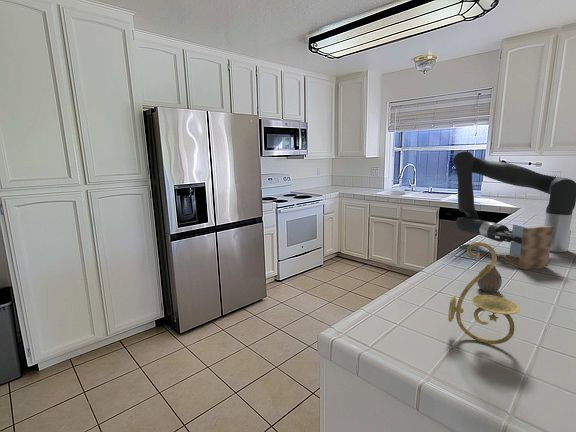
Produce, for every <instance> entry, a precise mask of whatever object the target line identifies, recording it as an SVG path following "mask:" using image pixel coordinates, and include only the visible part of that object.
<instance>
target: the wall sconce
mask: <svg viewBox="0 0 576 432" xmlns="http://www.w3.org/2000/svg"><path fill="white" fill-rule="evenodd" d="M474 247H475V248H476V247H484V248H485V249H487V250H488V251H489V253H491V261H490V263H489V264H488V265H489V266H488V267H487V268H486V269H485V270H484V271H482V272H481V273H480V274H479V273H478V274H479V275H476V276H475V277H474V278H473V279H472V280H471V281H470V282H469V283H467V285H466V286H465V288H463V290H462V292H461V293H460V295H459V298H458V301H457V299H456V298H457V297H456V295H454V294H453V295H451V298H450V302H449V307H448V316H447V317H448V318H447V319H448V322H449V323H450V322H453V320H454V318H455V317H456V322H457V325H458V326H459V328H460V329H461V330H462V331H463V333H464V334H465V335H467V336H468V337H470V338H471V339H473V340H475V341H477V342H479V343H480V342H481V343H483V342H484V344H488V345H490V344H491V345H498V344H499V345H500V344H503V343H506V342H508V341H509V340H510V339H512V337H513V336H514V333H515V322H514V319H513V317H512V316H511V315H515V314H517V313H519V311H520V306H519V305H518V304H517V303H516V302H514V301H512V300H510V299H508V298H505V297H502V296H497V295H491V294H480V295H479V294H478V295H474V296H472V298H471V302H472V304H473V305H474V306H476V307H477V308H476V309H474V312H473V318H474V320H475V322H477V323H478V324H479V325H482V326H483V325H484V326H488V325H489V324H490V322H488V321H487V320H482V319H480V318H479V313H480V312H484V311H486V312H489V313H492V314H488V315H487V316H488V318H489V321H494V322H495V323H497V319H499V318H500V317H498V316H496V314H498V315H503V316H505V318H506V320H507V321H508V325H509V330H508V333H507V334H506V335H505V336H504V337H502V338H499V339H486V338H483V337H479V336H478V335H475V334H473V333H472V332H471V331H469V330H468V329H467V328H466V327H465V326H464V324H463V321H462V319H461V318H462V317H461V314H463V313H464V310H465V309H464V308H463V307H462V304H463V301H464V299H465V298H466V295H467V294H468V292H469V290H471V289H472V287H473V286H475V284H476V283H477V281H479V280H480V279H481V278H482V277H483V276H485V275H486V274H487V273H488V272H489V271H490V270H491V269H492V268H493V267H494V266H495V265H496V264H497V260H498V259H497V258H498V257H497V252H496V250H495V249H494V247H492V246H491V245H490V244H488V243H486V242H481V241H475V242H472V243H471V244H470V245H468V246H467V249H466V253H467V255H468V256H469V257H471V258H477V257H479V256H480V255H481V254H480V252H477V253H473V252H472V249H473V248H474ZM495 267H496V266H495Z"/></svg>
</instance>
